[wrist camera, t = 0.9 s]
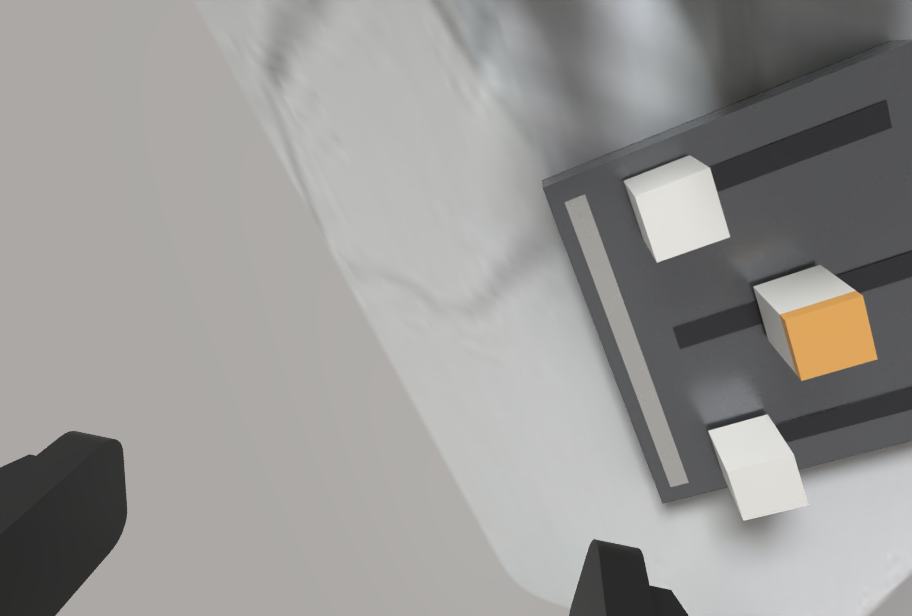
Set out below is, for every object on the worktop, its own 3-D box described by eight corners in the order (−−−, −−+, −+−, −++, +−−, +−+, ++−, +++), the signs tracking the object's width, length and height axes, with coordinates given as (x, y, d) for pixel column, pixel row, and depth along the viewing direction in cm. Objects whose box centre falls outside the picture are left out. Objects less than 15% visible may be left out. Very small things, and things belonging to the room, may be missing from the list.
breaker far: (767, 414, 32) (793, 454, 29) (781, 461, 33) (808, 505, 30) (708, 430, 33) (726, 471, 29) (723, 476, 33) (743, 520, 30)
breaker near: (690, 155, 28) (710, 167, 24) (708, 216, 29) (730, 236, 25) (623, 180, 28) (634, 196, 25) (643, 240, 29) (656, 262, 26)
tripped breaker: (820, 264, 29) (863, 295, 25) (833, 321, 30) (877, 359, 26) (752, 286, 30) (784, 319, 26) (768, 340, 30) (801, 381, 27)
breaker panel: (890, 40, 27) (918, 39, 25) (959, 402, 33) (985, 423, 31) (542, 180, 31) (542, 188, 29) (656, 481, 37) (663, 504, 35)
